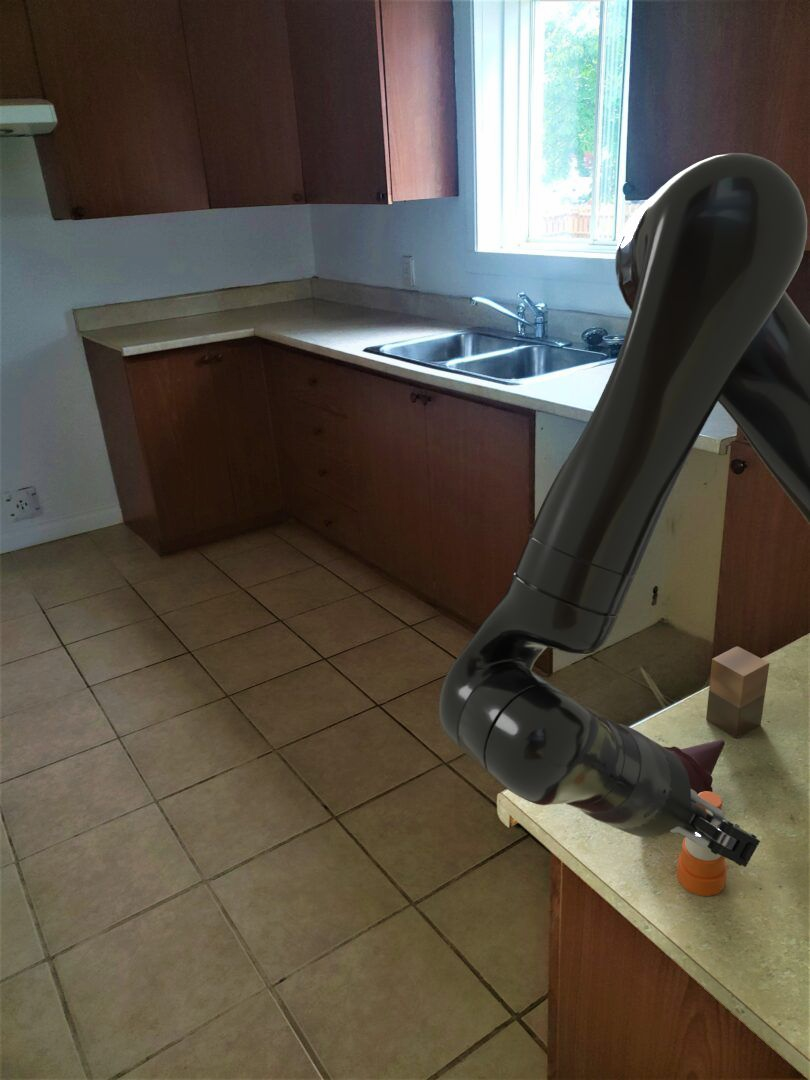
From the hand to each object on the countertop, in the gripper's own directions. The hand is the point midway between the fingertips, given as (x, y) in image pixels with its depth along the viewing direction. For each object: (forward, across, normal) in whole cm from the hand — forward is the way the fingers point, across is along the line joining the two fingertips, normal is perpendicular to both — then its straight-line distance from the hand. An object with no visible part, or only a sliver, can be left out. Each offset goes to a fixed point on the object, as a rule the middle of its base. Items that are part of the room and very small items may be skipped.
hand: (700, 816), depth 75 cm
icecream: (+12, +8, 0) cm, 14 cm away
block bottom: (+23, +12, -11) cm, 28 cm away
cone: (+7, 0, +5) cm, 9 cm away
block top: (+20, +12, -14) cm, 27 cm away
